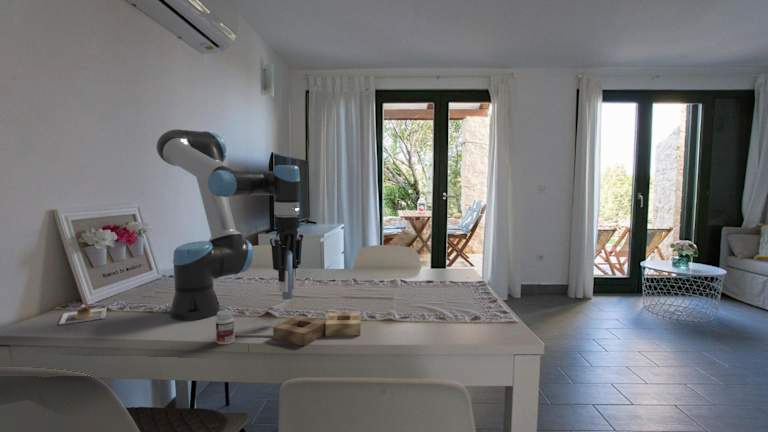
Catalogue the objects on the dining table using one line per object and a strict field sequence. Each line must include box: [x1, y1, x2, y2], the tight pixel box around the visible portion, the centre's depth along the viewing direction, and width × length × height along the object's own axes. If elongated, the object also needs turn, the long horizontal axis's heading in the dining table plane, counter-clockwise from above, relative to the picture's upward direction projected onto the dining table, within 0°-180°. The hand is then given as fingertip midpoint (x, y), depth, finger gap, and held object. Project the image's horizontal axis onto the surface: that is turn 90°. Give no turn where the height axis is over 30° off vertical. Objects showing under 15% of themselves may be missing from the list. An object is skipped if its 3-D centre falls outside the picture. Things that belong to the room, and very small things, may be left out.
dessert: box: [58, 304, 107, 326], centre depth 140 cm, size 12×12×5 cm
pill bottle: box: [215, 309, 236, 345], centre depth 119 cm, size 5×5×8 cm
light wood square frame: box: [325, 311, 362, 337], centre depth 129 cm, size 10×10×4 cm
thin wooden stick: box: [235, 333, 273, 338], centre depth 123 cm, size 16×1×1 cm, turn 88°
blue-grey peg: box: [281, 250, 293, 300], centre depth 134 cm, size 3×3×16 cm
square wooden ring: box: [272, 315, 326, 347], centre depth 123 cm, size 11×11×4 cm
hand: (287, 289), depth 135 cm, fingers closed on blue-grey peg, 3 cm apart
